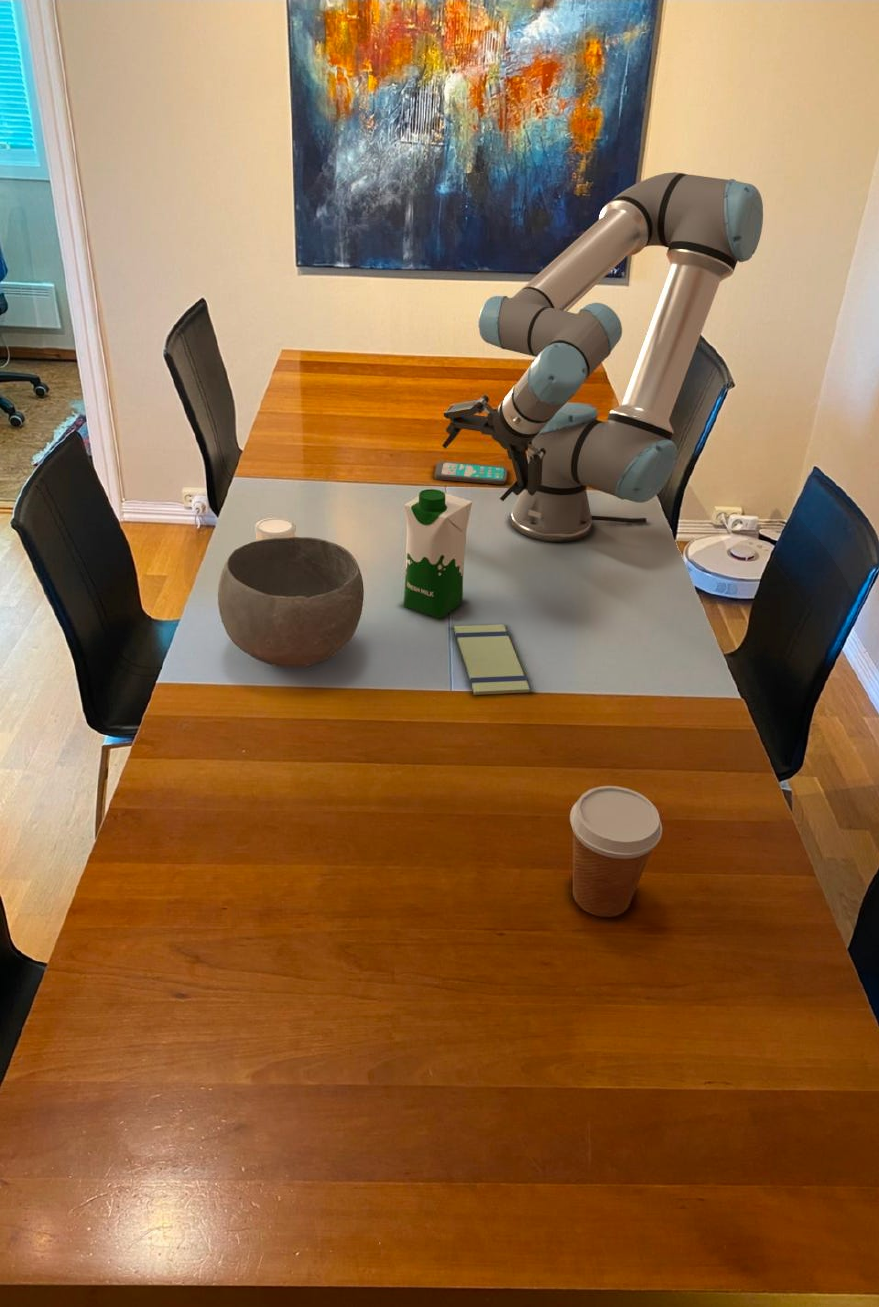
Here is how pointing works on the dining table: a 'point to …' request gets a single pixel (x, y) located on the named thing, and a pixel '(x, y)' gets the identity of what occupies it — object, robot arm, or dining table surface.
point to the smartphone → (471, 472)
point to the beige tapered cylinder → (274, 528)
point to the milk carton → (435, 552)
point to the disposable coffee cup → (611, 847)
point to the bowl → (290, 599)
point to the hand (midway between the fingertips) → (476, 468)
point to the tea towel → (490, 660)
